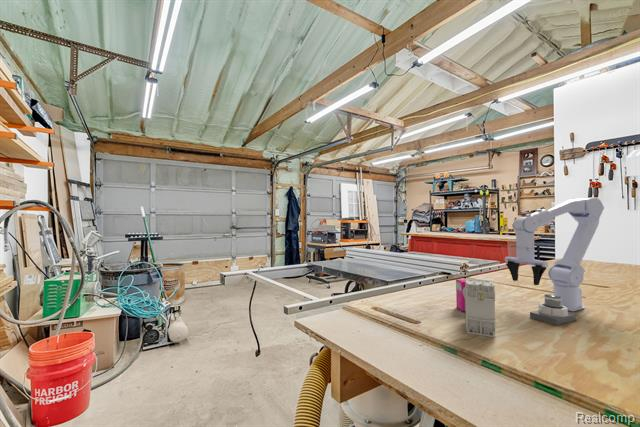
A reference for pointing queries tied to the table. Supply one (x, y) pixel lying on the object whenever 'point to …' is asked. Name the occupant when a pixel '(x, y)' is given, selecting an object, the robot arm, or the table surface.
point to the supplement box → (460, 294)
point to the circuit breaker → (480, 307)
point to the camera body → (552, 314)
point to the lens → (552, 301)
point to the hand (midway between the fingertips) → (525, 282)
